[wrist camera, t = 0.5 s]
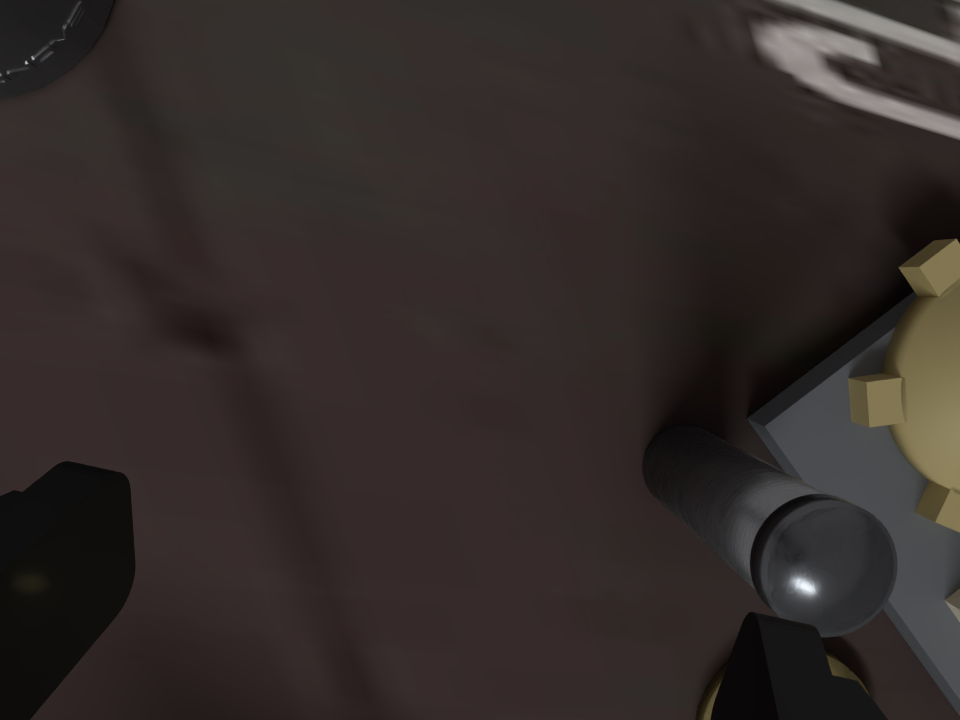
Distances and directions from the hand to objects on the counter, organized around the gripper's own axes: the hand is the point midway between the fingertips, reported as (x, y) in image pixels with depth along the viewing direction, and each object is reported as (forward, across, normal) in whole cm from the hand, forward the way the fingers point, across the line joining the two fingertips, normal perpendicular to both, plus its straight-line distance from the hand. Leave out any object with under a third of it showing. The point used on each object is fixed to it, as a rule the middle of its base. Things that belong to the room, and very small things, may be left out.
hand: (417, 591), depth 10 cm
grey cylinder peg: (+19, -7, +8) cm, 22 cm away
